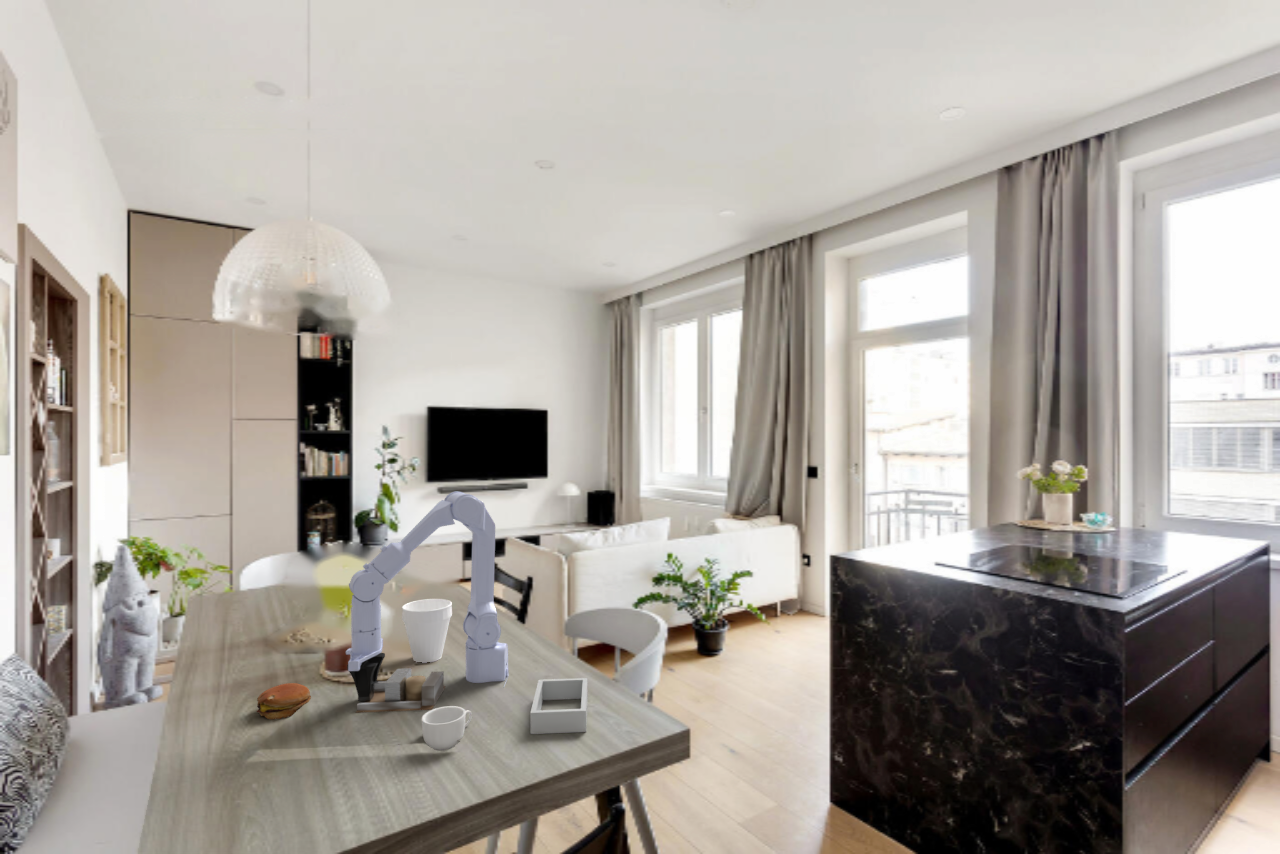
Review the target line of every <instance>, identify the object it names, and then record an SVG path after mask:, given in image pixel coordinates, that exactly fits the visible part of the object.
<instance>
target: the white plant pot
mask: <svg viewBox="0 0 1280 854" xmlns="http://www.w3.org/2000/svg"><path fill="white" fill-rule="evenodd" d="M452 606H453V602H452V601H451V600H450V599H449V600H448V599H445V598H426V599H418V600H414V601H410V602H408V603H404V605H402V606H401V610H402V611H401V612H402V613H401V621H403V623H404V628H405V632H406V636H407V639H408V645H409V647H410V652H411V655H412V656H411V657H412V659H413V662H414V661H416V662H415V663H417V662H422V663H421V664H428V663H427V662H430V663H433V662H434V663H435V662H437V661H439V660H441V658H442V657H443V653H444V648H445V645H446V639H447V634H448V631H449V630H448V629H449V626H450V621H451V617H452V616H453V607H452Z"/></svg>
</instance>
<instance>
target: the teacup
mask: <svg viewBox="0 0 1280 854" xmlns="http://www.w3.org/2000/svg"><path fill="white" fill-rule="evenodd" d="M467 714H468V716H469V717H468V719H467V721H466V718H467V717H466V716H467ZM472 718H473V713H472V711H471V710H468V709H467V710H466V709H465V708H463V707H461V706H457V705H456V706H455V705H449V706H447V705H446V706H440V707H436V708H432V710H427V712H425V713H424V714H423V715H422V716H421V729H422V732H421V733H422V737H423V740H424V742H425V744H426V745H427V746H428V747H429V748H430V749H433V750H436V751H445V750H449V749H452V748H454V747H455V746H456V745H458V744H459V743H460V742H461V741H460V740H461V739H462V738H463V737H464V734H465V730H466V727H468V725H469V724H470V723H471V721H472Z"/></svg>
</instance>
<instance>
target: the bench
mask: <svg viewBox="0 0 1280 854" xmlns="http://www.w3.org/2000/svg"><path fill="white" fill-rule="evenodd" d="M444 680H445V678H444V671H442V670H441V671H431V672H430V674H429V675H428V676H427V678H426V681H425V682H424V684H423V685H422V700H421V701H406V698H405V699H404V701H399V702H385V689H375V690H374V697H373V698H372V699H371V700H370V701H363V702H358V703H357V704H356V711H355V713H357V714H358V713H380V712H383V713H385V712H403V711H405V712H406V711H430V710H433V709H434V707H435V705H436V704H437V702H438V700H439V699H440V697H441V695H442V693H443V692H444V690H445V689H446V687H447V686H446V685H444Z"/></svg>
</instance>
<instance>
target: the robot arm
mask: <svg viewBox="0 0 1280 854" xmlns="http://www.w3.org/2000/svg"><path fill="white" fill-rule="evenodd" d="M454 520H455V521H457V522H460V523H461V524H462V525H463V526H464V527H466V529H468V530H469V531H470V532H471V533H472V536H471V537H472V538H471V574H470V575H471V577H470V581H471V582H470V601H469V603H468V606H467V613H466V615H465V617H464V620H463V624H462V627H463V628H462V629H463V632H464V633H465V635H467V639H466V641H465V680H466V681H467V682H469V683H474V684H475V683H476V684H481V683H489V682H504V684H503V689H504V688H505V686H506V683H507V681H508V679H509V646H508V643H505V642H499V639H500V638H501V633H502V629H501V626H500V622H499V621H498V612H497V609H496V606H495V601H494V598H495V595H494V594H495V559H496V558H495V556H496V555H495V554H496V552H495V551H496V524H495V522H494V520H493V518H492V516H491V515H490V513H489V512H488V510H487V508H486V505H485V503H484V502H483V500H480V499H479V498H478V497H477V496H475V495H473V494H470V493H464V492H463V491H452V492H450V493H448V495H446V496H445V498H444V499H441V500H440V501H439V502H437V503H436V505H435V506H433V507H432V508H431V510H430V511H429V512H428V513H426V514H425V516H424V517H423V518H421V520H420V521H419V522H418V523H417V524H416V525H415V526H414V527H413V528H412V529H411V530H410V531H409V532H408V533H407V534H406V535H405V536H404V537H403V538H402V539H401V540H400V541H399V542H398V541H397V542H396V541H395V542H390V543H389V544H388V545H386V544H384V545H382V547H380V552H379V553H378V554H377V555H376V556H375V557H373V559H372V560H371V561H370V562H369V563H367V562H366V563H364V564H363V565H362V568H363V569H362V570H358V571H357V572H355V573H354V574H353V575H352V576H351V577H350V578H351V579H350V582H349V583H348V587H349V590H350V591H351V593H352V598H351V612H350V613H351V615H350V616H351V623H350V624H351V625H350V626H351V627H350V628H351V647H349V648H347V650H345V655H348V656H349V655H350V658H349V660H348V661H347V663H348V664H347V666H346V668H347V671H348V672H349V675H350V676H351V677H352V679H353V683H354V685H355V689H356V693H357V697H358V696H359V697H369V696H370V693H371V687H372V679H373V674H374V682H377V681H378V677H379V672H380V669H381V666H382V663H383V662H384V659H385V657H386V653H385V652H383V648H384V638H382V609H381V608H382V605H381V595H382V593H383V591H384V587H385V584H389V582H390V581H391V580H393V578H395V577H396V576H397V574H399V573H400V572H401V570H403V569H404V568H405V567H406V566H407V565H408V564H410V562H411V555H412V552H413V551H414V550H415V549H416V548H417V547H419V546H420V545H421V544H423V542H424V541H426V540H427V539H428V538H429V537H430V536H431V535H432V534H433V533H434V532H436V531H437V530H438V529H439V528H441V527H447V526H453V525H456V523H455V521H454ZM374 690H375V689H374Z"/></svg>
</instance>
